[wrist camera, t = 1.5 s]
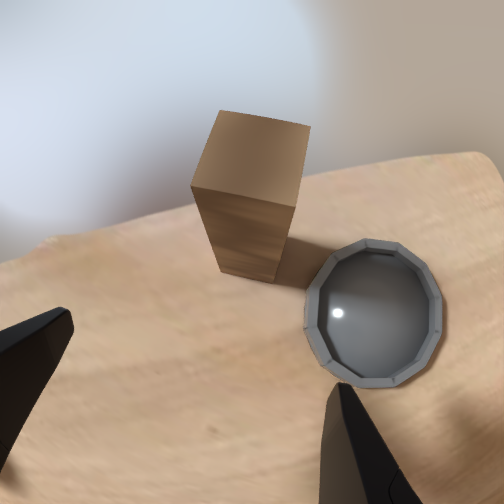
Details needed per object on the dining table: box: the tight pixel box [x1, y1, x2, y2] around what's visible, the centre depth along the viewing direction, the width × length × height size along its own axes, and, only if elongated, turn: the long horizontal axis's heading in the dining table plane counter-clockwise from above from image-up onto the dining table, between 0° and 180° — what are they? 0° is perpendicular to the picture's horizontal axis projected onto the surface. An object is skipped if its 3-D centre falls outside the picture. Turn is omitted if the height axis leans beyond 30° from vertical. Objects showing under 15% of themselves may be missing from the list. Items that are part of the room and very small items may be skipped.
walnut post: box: [190, 110, 311, 284], centre depth 18 cm, size 4×4×13 cm
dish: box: [303, 238, 442, 388], centre depth 22 cm, size 11×11×2 cm
